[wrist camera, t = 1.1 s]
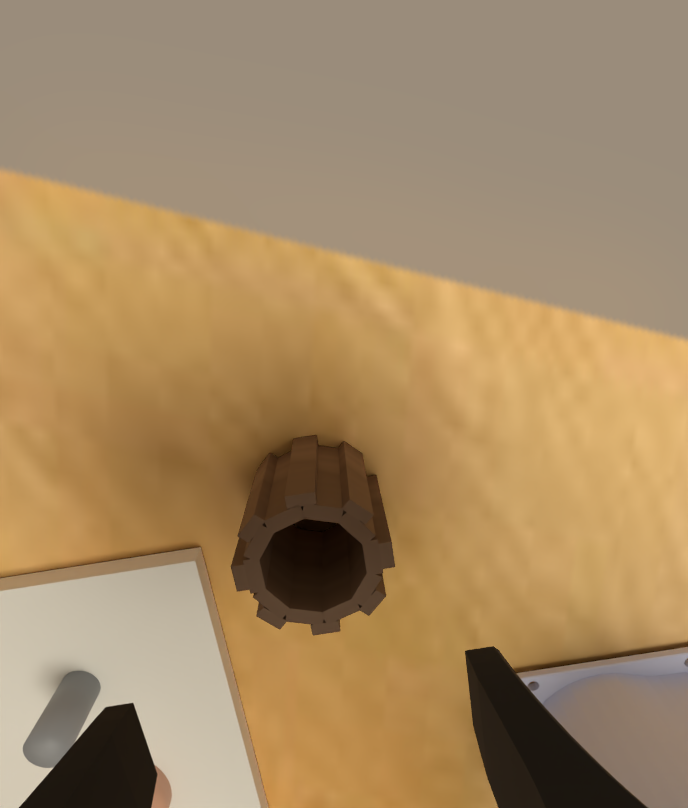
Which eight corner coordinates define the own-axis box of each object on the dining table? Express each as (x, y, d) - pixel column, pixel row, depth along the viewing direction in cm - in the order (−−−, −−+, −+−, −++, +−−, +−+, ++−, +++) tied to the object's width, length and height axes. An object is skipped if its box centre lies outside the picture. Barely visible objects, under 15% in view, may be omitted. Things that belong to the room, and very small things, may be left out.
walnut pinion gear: (369, 426, 21) (382, 481, 16) (385, 540, 22) (402, 621, 17) (241, 446, 21) (216, 507, 16) (266, 559, 22) (250, 644, 17)
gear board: (200, 547, 22) (174, 610, 18) (270, 814, 26) (261, 912, 22) (-88, 592, 22) (-176, 665, 18) (28, 851, 26) (-22, 955, 22)
